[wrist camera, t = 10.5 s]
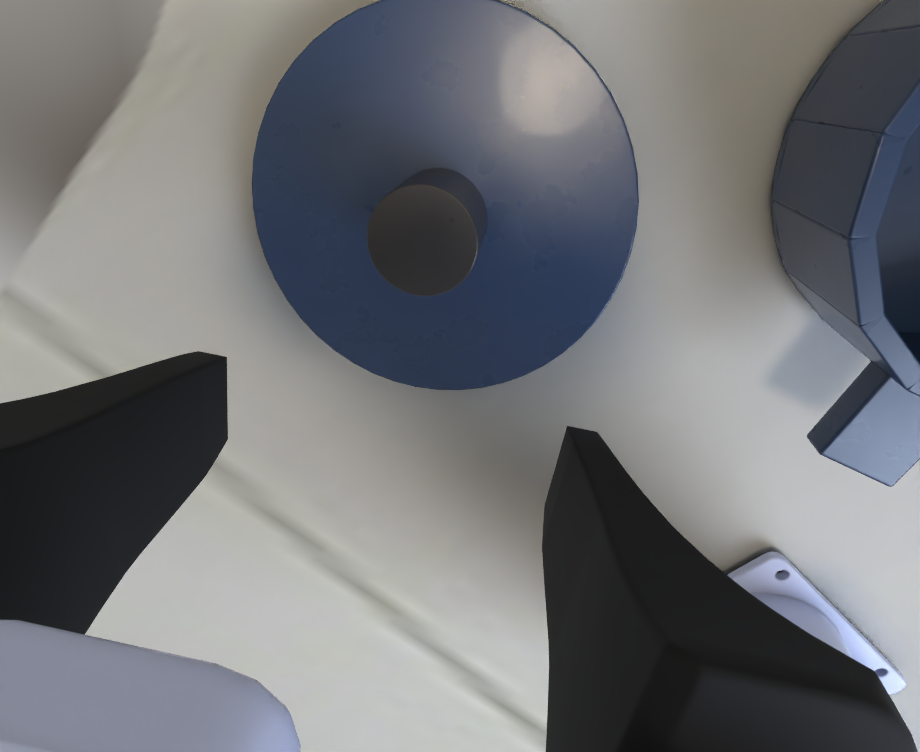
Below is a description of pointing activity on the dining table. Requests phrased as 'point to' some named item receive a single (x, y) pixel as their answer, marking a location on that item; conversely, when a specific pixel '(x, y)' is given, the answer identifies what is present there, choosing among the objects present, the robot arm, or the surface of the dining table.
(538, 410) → the dining table surface
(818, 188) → the pot
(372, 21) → the lid
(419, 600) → the dining table surface
